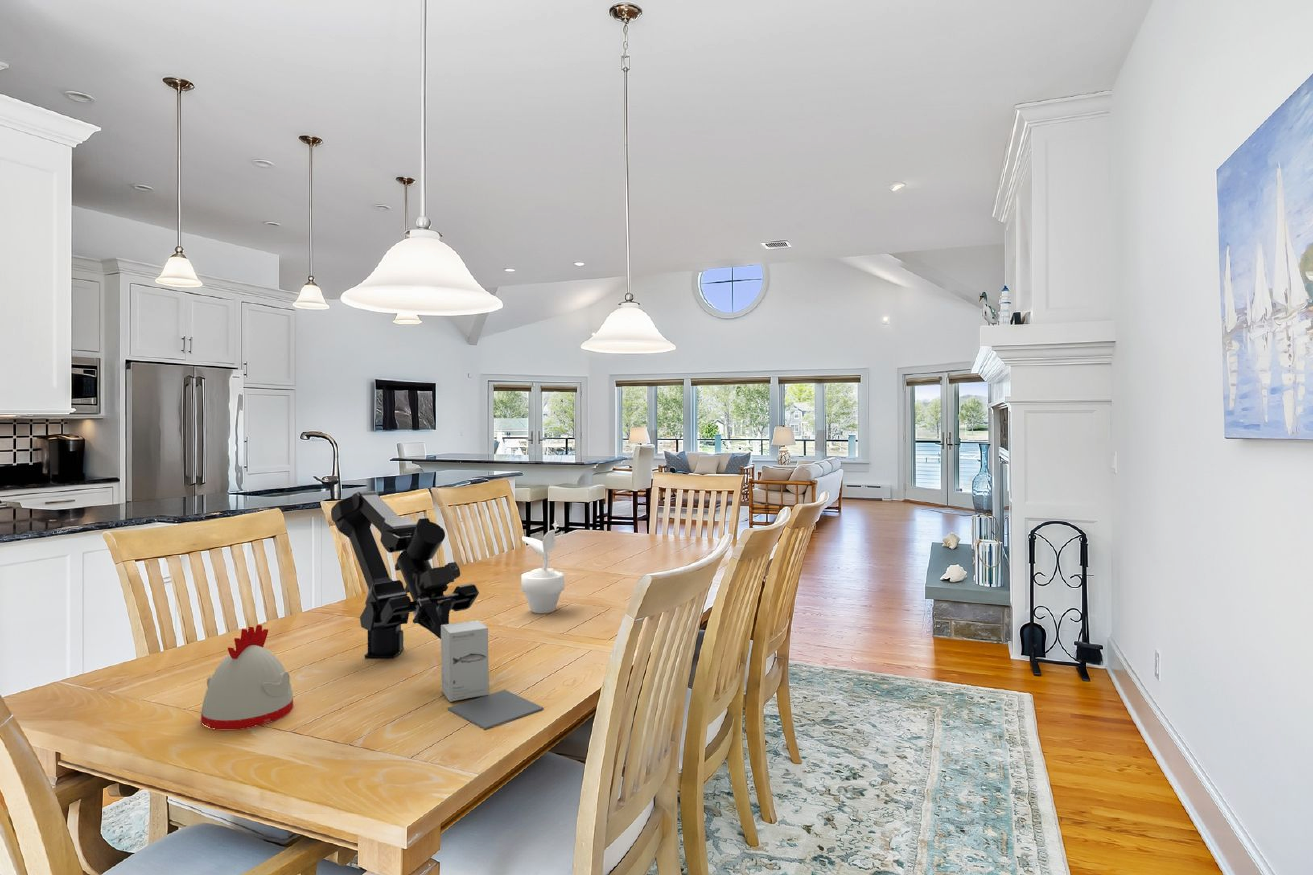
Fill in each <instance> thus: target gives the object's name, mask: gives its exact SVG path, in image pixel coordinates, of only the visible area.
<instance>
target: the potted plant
mask: <svg viewBox="0 0 1313 875" xmlns="http://www.w3.org/2000/svg"><path fill="white" fill-rule="evenodd" d="M551 526H553V528H554V529H551V530H549V531H547V532H546V533H545V534H544V535H543V538H542V541H541V540H540V539H537V538H534V537H530V536H529V537H528V536H523V535H522V538H521V540H522V542H524V543H525V544H526V545H529V546H530V547H531V548H532V550H534V551H535V553H537V555H539V556H543V557H542V558H543V559H542V567H539V568H535V569H532V570H531V571H526V572H525V573H523V574H522V573H521V592H522V593H524V594H525V597H526V600H527V604H528V606H529V610H530V612H532V613H535V614H541V615H543V614H550V613H552V612H554V611H555V610H556V608H557V605H558V601H559V599H560V596H561V593H562V592H563V591H565V574H564V572H561V571H557V570H554V568H553V567H549V559H550V556H549V553H551V552H552V551H553V550H554V548H555V546H556V538H557V536H555V533H556V532H558V531H559V528H557V527H558V526H561V525H560V524H558V523H557V518H555V521H554V523H553V524H551ZM559 535H560V536H561V538H562V537H563V535H564V533H563V531H560V533H559Z"/></svg>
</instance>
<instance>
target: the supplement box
mask: <svg viewBox="0 0 1313 875" xmlns="http://www.w3.org/2000/svg"><path fill="white" fill-rule="evenodd" d="M440 656H441V664H440V665H441V692H442V693H443V694H444V696H445V697H446V699H447V700H448V702H450V703H453V702H454V701H460V700H466V699H472V698H477V697H478V698H479V697H483V696H486V695H490V681H489V680H490V679H489V678H490V674H489V673H490V672H489V670H490V669H489V628H488V627H487V626H486V625H485V624H484V623H483V622H481V620H470V621H462V622H454V623H449V624H445V625H441V639H440Z"/></svg>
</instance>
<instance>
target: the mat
mask: <svg viewBox="0 0 1313 875" xmlns="http://www.w3.org/2000/svg"><path fill="white" fill-rule="evenodd" d="M544 708H545V707H543V706H541V705H539V704H537V703H535V702H533V701H530V700H528V699H526V698H524V697H522V696H520V695H518V694H516V693H513V692H510V691H509V690H506V689H503V690H500V691H497V692H492V693H489V695H486V696H479V697H478V698H477V697H476V698H475V699H474V698H473V699H471V700H468V701H464V702H461V703H458V704H454V705H451V706H449V707H448V706H447V710H448V711H450V712H452V713H454V714H455V715H457V716H459V717H461V718H463V719H464V720H467V721H468V722H470V723H472V724H473V725H475V726H477V725H478V726H477V727H479V728H480V729H483V730H484V729H485V730H488V729H491V728H493V726H494V727H497V726H500V725H502V724H506V723H508V722H511V721H514V720H517V719H519V717H520V718H522V717H526V716H528V715H531V714H534V713H537V712H539V711H543V710H545V709H544ZM542 709H543V710H542ZM525 715H526V716H525ZM516 718H517V719H516ZM496 725H497V726H496Z"/></svg>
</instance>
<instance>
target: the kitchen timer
mask: <svg viewBox="0 0 1313 875" xmlns="http://www.w3.org/2000/svg"><path fill="white" fill-rule="evenodd" d="M268 633H269V629H268V628H267V629H266V628H263V625H262V624H256V626H255V628H254V626H248V628H241V633H240V638H239V637H237V638H236V637H234V640H233V641H234V645H235V648H234V647H229V646H228V647H227V651H228V655H227V656H225V658H224V659H223V660H222V661H221V662H220V663H219V665H218V666H217V667H216V668H215V670H214V672H213V674H212V676H208V677H207V680H206V686H207V689H206V691H205V694H204V699H203V701H202V707H201V712H200V713H201V714H200V718H201V720H200V721H202V723H203V724H204V725H206V726H208V727H210V728H215V729H214V730H216V729H237V730H242V729H241V728H245V729H248V728H247V727H250V728H253V727H252V726H255V725H260V726H263V725H266V724H269V723H272V722H271V721H273V722H276V720H279V719H282V718H283V717H285V716H287V713H288V714H289V713H290V712H291V711H292V710H293V709H294V697H293V690H292V686H291V683H290V682H291V681H290V680H291V679H290V678H291V677H290V673H289V672H287V671H286V669H285V667H284V666H283V664H282V663H281V660H279V658H278V657H277V656H275V655H274V654H273V653H272V652H271V651H270V650H268V649H267V648H264V646H265V643H266V640H267V636H268ZM281 717H282V718H281ZM268 722H269V723H268ZM202 723H201V724H202ZM265 723H266V724H265ZM203 724H202V725H203ZM262 724H263V725H262ZM204 725H203V726H204ZM255 727H256V726H255ZM210 728H209V729H210Z"/></svg>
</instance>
